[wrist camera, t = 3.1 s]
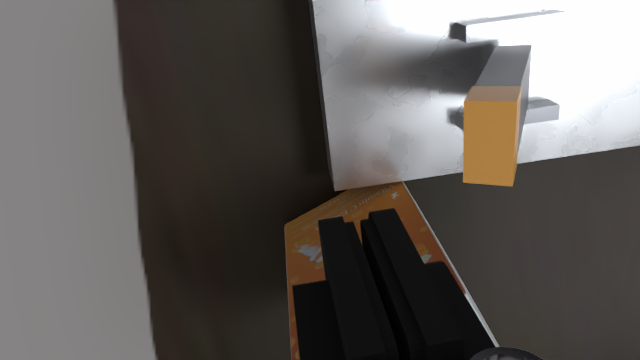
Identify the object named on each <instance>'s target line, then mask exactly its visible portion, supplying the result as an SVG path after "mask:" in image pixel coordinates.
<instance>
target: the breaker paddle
mask: <svg viewBox="0 0 640 360" xmlns="http://www.w3.org/2000/svg"><path fill="white" fill-rule="evenodd" d="M531 52H532V45H502V46H496V48H495V49H494V51H493V53H492V55H491V57H490V58H489V60H488V62H487V64H486V66H485V68H484V69H483V71H482V73H481V75H480V77H479V78H478V80H477V82H476V84H475V86H472V87H471V89H470V91H469V93H468V94H467V96H466V98H465V100H464V135H463V183H476V184H488V185H501V186H513V182H514V177H515V172H516V167H517V155H518V150H519V145H520V141H521V136H522V131H523V126H524V122H525V117H526V112H527V107H528V97H529V82H530V67H531Z"/></svg>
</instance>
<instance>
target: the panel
mask: <svg viewBox="0 0 640 360" xmlns="http://www.w3.org/2000/svg"><path fill="white" fill-rule="evenodd" d="M308 4H309V12H310V21H311V29H312V37H313V46H314V54H315V62H316V71H317V79H318V87H319V96H320V104H321V112H322V120H323V129H324V137H325V145H326V154H327V162H328V170H329V174H330V177H331V180H332V184H333V187H334V191H340V190H347V189H353V188H360V187H366V186H373V185H380V184H386V183H393V182H400V181H406V180H413V179H419V178H426V177H433V176H439V175H446V174H452V173H459V172H463V135H464V100H465V98H466V96H467V94H468V93H469V91H470V89H471V87H472V86H475V84H476V82H477V80H478V78H479V77H480V75H481V73H482V71H483V69H484V68H485V66H486V64H487V62H488V60H489V58H490V57H491V55H492V53H493V51H494V49H495V48H496V46H502V45H532V52H531V67H530V82H529V97H528V107H527V112H526V117H525V122H524V126H523V131H522V136H521V141H520V145H519V150H518V155H517V164H519V163H525V162H532V161H539V160H545V159H552V158H558V157H565V156H572V155H578V154H585V153H591V152H598V151H605V150H611V149H618V148H625V147H631V146H638V145H640V0H308Z"/></svg>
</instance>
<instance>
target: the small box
mask: <svg viewBox="0 0 640 360" xmlns="http://www.w3.org/2000/svg"><path fill="white" fill-rule="evenodd" d="M390 208H395V210H396V212H397V213H398V215H399V217H400V219H401V221H402V223H403V225H404V227H405V229H406V230H407V232H408V234H409V236H410V238H411V240H412V242H413V244H414V245H415V247H416V249H417V251H418V253H419V255H420V257H421V259H422V260H423V262H424V263H429V262H435V261H443V262H444V263H445V264H446V265H447V267H448V268H449V270H450V272H451V273H452V275H453V277H454V278H455V280H456V281H457V283H458V285H459V286H460V288H461V290H462V291H463V293H464V295H465V296H466V298H467V300H468V301H469V303H470V305H471V306H472V308H473V310H474V311H475V313H476V315H477V316H478V318H479V320H480V321H481V323H482V325H483V326H484V328H485V330H486V331H487V333H488V335H489V336H490V338H491V340H492V341H493V343H494V345H495V346H496V347H499V345H498V343H497V341H496V340H495V338H494V336H493V334H492V332H491V331H490V329H489V327H488V325H487V324H486V322H485V320H484V318H483V317H482V315H481V313H480V311H479V310H478V308H477V306H476V304H475V303H474V301H473V299H472V297H471V296H470V294H469V292H468V290H467V289H466V287H465V285H464V283H463V282H462V280H461V278H460V276H459V275H458V273H457V271H456V270H455V268H454V266H453V264H452V263H451V261H450V259H449V258H448V256H447V254H446V252H445V251H444V249H443V247H442V245H441V244H440V242H439V240H438V239H437V237H436V235H435V234H434V232H433V230H432V229H431V227H430V225H429V223H428V222H427V220H426V218H425V217H424V215H423V213H422V212H421V210H420V208H419V207H418V205H417V203H416V202H415V200H414V199H413V197H412V195H411V194H410V192H409V190H408V189H407V187H406V185H405V184H404V182H403V181H400V182H393V183H386V184H380V185H373V186H366V187H360V188H353V189H348V190H346V191H345V192H343V193H341V194H339V195H338V196H336V197H334V198H332V199H331V200H329V201H327V202H325V203H323V204H321V205H320V206H318V207H316V208H314V209H312V210H311V211H309V212H307V213H305V214H303V215H301V216H299V217H298V218H296V219H294V220H292V221H290V222H288V223H286V224H285V226H284V232H285V250H286V271H287V287H288V306H289V325H290V343H291V360H300V357H299V347H298V338H297V328H296V319H295V309H294V300H293V290H292V285H298V284H304V283H310V282H316V281H322V280H326V279H325V271H324V264H323V257H322V250H321V242H320V235H319V227H318V220H321V219H328V218H334V217H340V216H343V219H344V222H351V221H353V222H354V224H355V227H356V230H357V233H358V235H359V238H360V241H361V244H362V238H361V227H360V221H361V220H363V219H368V215H369V212H371V211H378V210H384V209H390Z"/></svg>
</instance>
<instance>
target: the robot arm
mask: <svg viewBox="0 0 640 360" xmlns="http://www.w3.org/2000/svg"><path fill="white" fill-rule="evenodd" d="M318 227H319V235H320V242H321V250H322V257H323V264H324V271H325V279H326V280H322V281H316V282H310V283H304V284H298V285H292V290H293V300H294V309H295V319H296V328H297V338H298V347H299V357H300V360H544V359H542V358H540V357H538V356H536V355H534V354H532V353H531V352H528V351H525V350H521V349H518V348H514V347H496V346H495V345H494V343H493V341H492V340H491V338H490V336H489V335H488V333H487V331H486V330H485V328H484V326H483V325H482V323H481V321H480V320H479V318H478V316H477V315H476V313H475V311H474V310H473V308H472V306H471V305H470V303H469V301H468V300H467V298H466V296H465V295H464V293H463V291H462V290H461V288H460V286H459V285H458V283H457V281H456V280H455V278H454V277H453V275H452V273H451V272H450V270H449V268H448V267H447V265H446V264H445V263H444V262H443V261H435V262H429V263H424V262H423V260H422V259H421V257H420V255H419V253H418V251H417V249H416V247H415V245H414V244H413V242H412V240H411V238H410V236H409V234H408V232H407V230H406V229H405V227H404V225H403V223H402V221H401V219H400V217H399V215H398V213H397V212H396V210H395V208H390V209H384V210H378V211H371V212H369V215H368V219H363V220H361V221H360V227H361V238H362V244H361V241H360V238H359V235H358V233H357V230H356V227H355V224H354V222H353V221H351V222H344V219H343V216H340V217H334V218H328V219H321V220H318Z"/></svg>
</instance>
